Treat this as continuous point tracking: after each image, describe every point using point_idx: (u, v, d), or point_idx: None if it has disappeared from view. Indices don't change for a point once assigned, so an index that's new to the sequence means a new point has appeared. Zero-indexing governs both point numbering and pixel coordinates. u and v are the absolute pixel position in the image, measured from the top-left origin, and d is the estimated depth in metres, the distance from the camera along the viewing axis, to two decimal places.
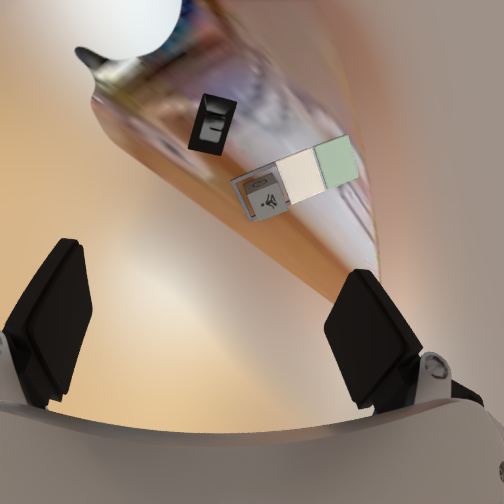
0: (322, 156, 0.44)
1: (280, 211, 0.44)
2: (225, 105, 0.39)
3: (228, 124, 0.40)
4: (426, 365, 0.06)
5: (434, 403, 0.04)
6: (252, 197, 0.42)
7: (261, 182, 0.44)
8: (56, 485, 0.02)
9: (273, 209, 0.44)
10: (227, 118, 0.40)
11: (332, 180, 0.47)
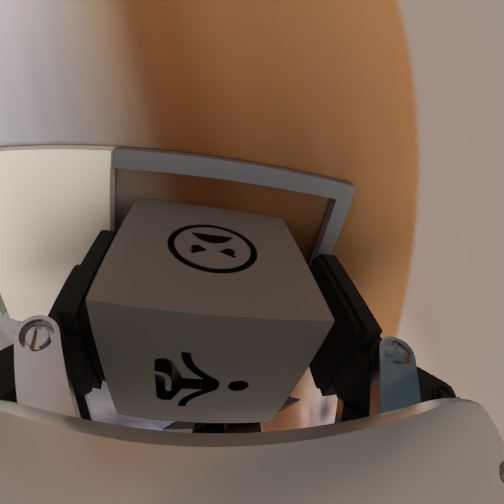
0: None
1: (145, 320, 0.05)
2: (186, 432, 0.18)
3: None
4: (386, 352, 0.07)
5: (434, 403, 0.04)
6: (259, 413, 0.08)
7: None
8: (56, 485, 0.02)
9: (191, 348, 0.06)
10: (189, 422, 0.17)
11: None
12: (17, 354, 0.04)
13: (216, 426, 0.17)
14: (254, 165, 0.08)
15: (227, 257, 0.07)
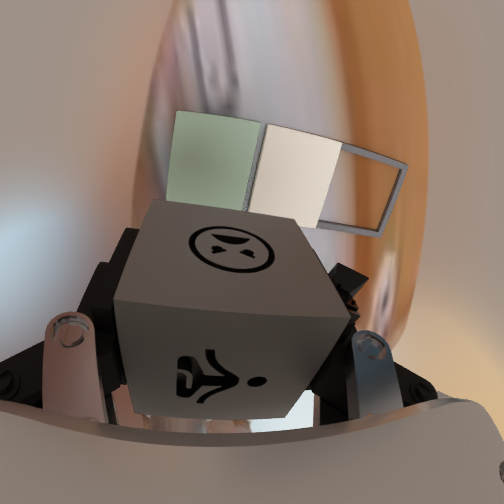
0: (234, 195, 0.23)
1: (173, 318, 0.05)
2: None
3: None
4: (359, 347, 0.07)
5: (434, 403, 0.04)
6: (274, 409, 0.08)
7: None
8: (56, 485, 0.02)
9: (215, 345, 0.06)
10: None
11: (241, 136, 0.20)
12: (50, 351, 0.04)
13: None
14: (380, 155, 0.23)
15: (246, 258, 0.07)
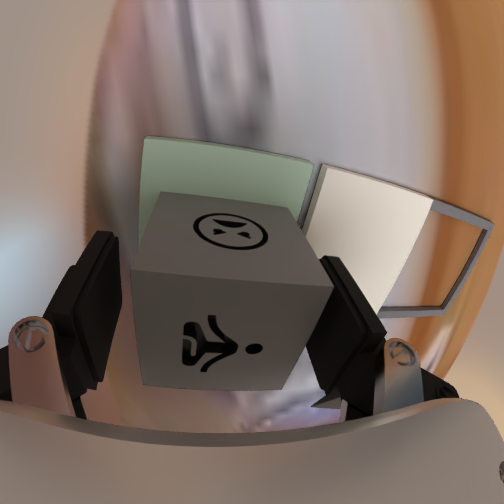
0: None
1: (180, 285, 0.06)
2: (331, 403, 0.23)
3: None
4: (391, 353, 0.07)
5: (434, 403, 0.04)
6: (270, 379, 0.09)
7: None
8: (56, 485, 0.02)
9: (216, 311, 0.07)
10: None
11: (275, 190, 0.11)
12: (11, 355, 0.04)
13: None
14: (471, 214, 0.13)
15: (243, 239, 0.08)
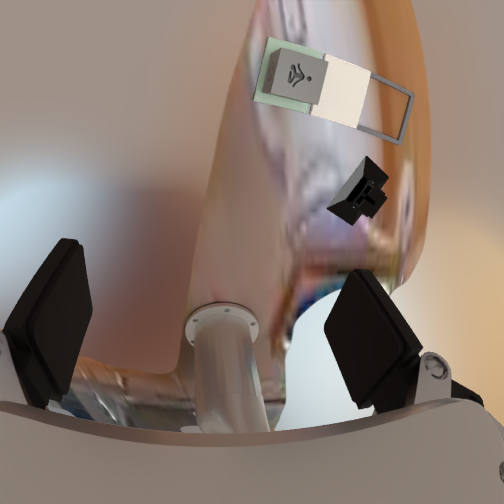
0: None
1: (292, 53, 0.22)
2: (340, 207, 0.38)
3: (346, 187, 0.37)
4: (426, 365, 0.06)
5: (434, 403, 0.04)
6: (314, 97, 0.25)
7: (285, 97, 0.27)
8: (56, 485, 0.02)
9: (300, 62, 0.23)
10: (344, 193, 0.37)
11: None
12: None
13: (358, 192, 0.37)
14: (396, 84, 0.29)
15: None
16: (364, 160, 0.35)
